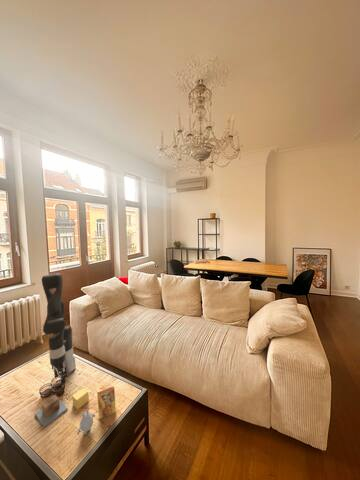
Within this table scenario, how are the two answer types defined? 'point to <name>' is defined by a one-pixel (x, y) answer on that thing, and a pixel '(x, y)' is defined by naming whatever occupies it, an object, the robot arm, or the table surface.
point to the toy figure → (86, 422)
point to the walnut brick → (50, 406)
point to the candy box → (106, 400)
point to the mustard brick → (80, 398)
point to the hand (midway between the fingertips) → (60, 380)
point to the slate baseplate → (52, 417)
